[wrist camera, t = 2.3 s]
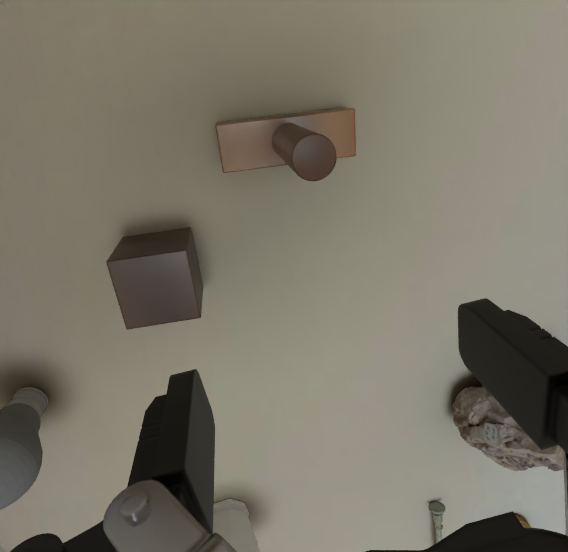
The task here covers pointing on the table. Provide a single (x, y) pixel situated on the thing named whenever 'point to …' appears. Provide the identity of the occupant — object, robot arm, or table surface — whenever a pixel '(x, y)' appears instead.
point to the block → (157, 278)
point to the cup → (234, 525)
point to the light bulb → (20, 443)
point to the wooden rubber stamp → (289, 142)
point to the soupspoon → (437, 518)
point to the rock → (500, 433)
